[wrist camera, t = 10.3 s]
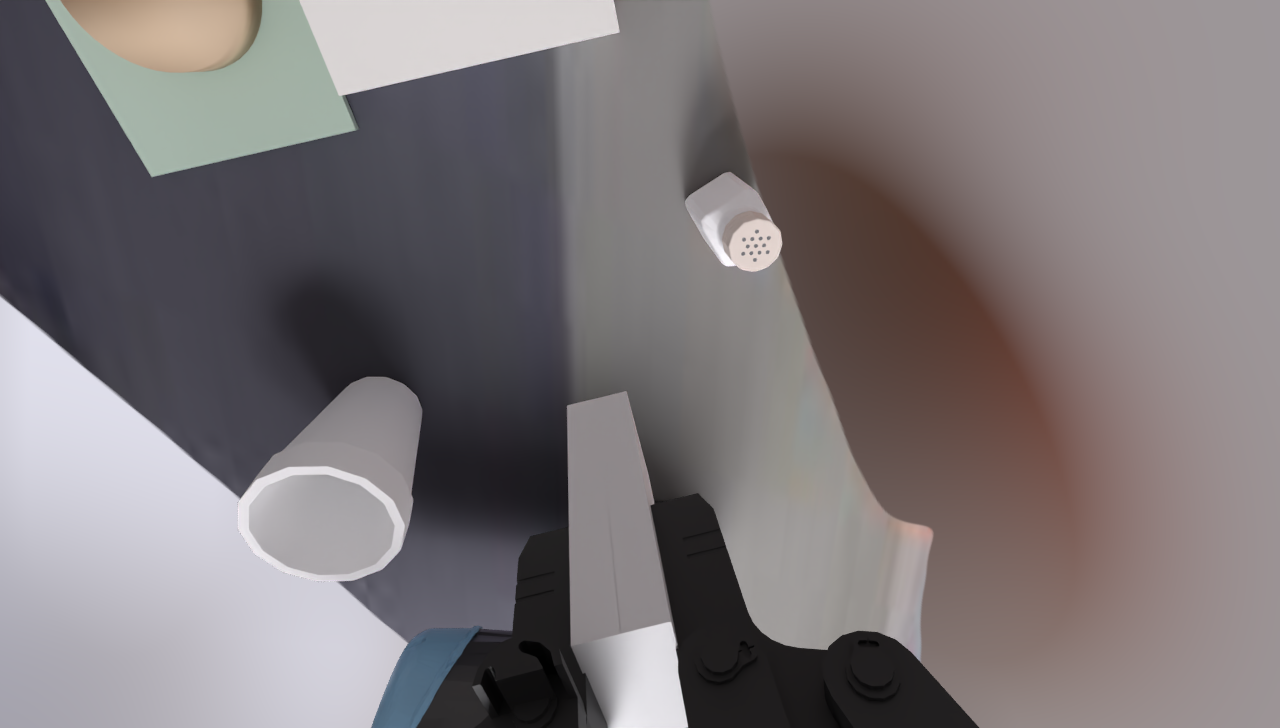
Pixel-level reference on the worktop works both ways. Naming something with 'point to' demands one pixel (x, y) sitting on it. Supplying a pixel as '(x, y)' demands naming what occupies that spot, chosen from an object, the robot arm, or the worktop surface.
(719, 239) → the pepper shaker
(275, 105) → the rubber mat
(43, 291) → the worktop surface
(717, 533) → the robot arm
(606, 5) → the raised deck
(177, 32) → the tan flat disc
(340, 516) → the foam cup
